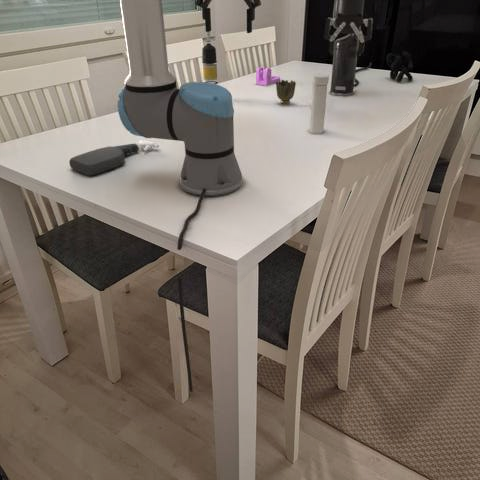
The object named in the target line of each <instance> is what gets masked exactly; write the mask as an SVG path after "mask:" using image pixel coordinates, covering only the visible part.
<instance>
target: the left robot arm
mask: <svg viewBox="0 0 480 480" xmlns="http://www.w3.org/2000/svg"><path fill="white" fill-rule="evenodd" d="M212 1H213V0H196V1H195V6H197V7H200V8H201V12H202V13H201V16H202V17H201V18H202V20H203V21H204V24H205V33H206V32H210V33H211V32H212V15H211V7H209V5H210V4H211V3H212ZM243 1H244V2H245V4H246V5H247V6H248V8H246V34H251V33H252V32H253V21H255V19H256V8H258V7H260V6H261V5H262V2H261V0H243ZM119 3H120V9H121V17H122V24H123V32H124V37H125V45H126V51H127V58H128V67H129V74H128V76H127V77H126V78H125V80H124V86H123V87H122V89H121V90H120V92H119V94H118V100H117V113H118V116H119V119H120V121H121V124H122V126H123V127H124V128H125V130H126V131H128V132H129V133H130V134H131V135H133V136H137V137H141V138H144V139H159V140H166V141H167V140H169V141H179V142H183V143H184V154H185V155H184V158H183V164H182V168H181V171H180V177H179V183H180V184H179V185H180V188H181V189H182V191H184V192H186V193H187V194H190V195H194V196H199V197H198V200H197V204H196V207H195V210H194V211H193V212H192V213H190V214H189V215H188V216H187V218H186V219H185V221H184V223H183V227H182V229H181V231H180V233H179V235H178V240H177V249H176V250H178V251H180V250H182V246H183V239H184V235H185V233H186V231H187V230H188V226H189V222H190V221H191V220H192V219H193V218H194V217H195V216H196V215H197V214H198V213H199V211H200V209H201V206H202V202H203V199H204V197H221V196H224V195H229V194H232V193H234V192H235V191H237V190H239V189H240V188H241V187H242V185H243V174H242V171H241V168H240V165H239V163H238V160H237V157H236V154H235V132H234V131H235V129H234V127H235V126H234V122H235V121H234V114H235V109H234V104H233V96H232V93H231V91H230V90H228V89H227V88H226V87H224V86H222V85H219V84H218V83H217V84H215V83H214V82H207V81H199V82H198V81H189V82H185V83H183V84H181V85H180V87H179V88H177V87H178V86H177V77H176V76H175V75H174V74H173V73H171V71H170V70H169V60H168V52H167V51H168V50H167V40H166V30H165V21H164V18H165V17H164V10H163V9H164V7H163V0H119ZM177 287H178V289H177V290H178V300H179V301H178V303H179V315H180V322H181V332H182V339H183V347H184V355H185V364H186V372H187V381H188V389H189V390H188V391H189V392H190V393H192V392H193V381H192V380H193V378H192V371H191V362H190V354H189V347H188V346H189V344H188V338H187V336H188V335H187V327H186V317H185V308H184V296H183V295H184V293H183V279H182V278H181V277H180V276H177Z"/></svg>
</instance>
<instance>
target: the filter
mask: <svg viewBox="0 0 480 480" xmlns="http://www.w3.org/2000/svg"><path fill="white" fill-rule="evenodd" d="M205 33H206V39H207V40H206V42H207V43H206V45H204V46H202V49H201V50H202V51H201V52H202V54H201V55H202V57H201V58H202V61H201V63H202V71H203V72H202V73H203V74H202V75H203V80H204V81H206V82H207V83H214V84H217V85H218V84H219V82H218V81H216V80H218V64H216V63H218V61H217V48H216V47H215V46H214V45H212V43H210V42H211V40H210V39H211V31H210V32H206V31H205Z"/></svg>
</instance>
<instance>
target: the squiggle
mask: <svg viewBox="0 0 480 480" xmlns="http://www.w3.org/2000/svg"><path fill="white" fill-rule="evenodd" d="M401 57H402V59H401ZM391 59H392V60H391ZM393 60H394V61H393ZM385 61H386V64H387V67H390V68H391V70H390V72H389V78H390V79H391V80H395V79H396V81H397V82H399V83H400V82H402V81H403V79H404V76H406V78H407V80H408V81H412V80H413V79H414V77H413V75H412V74H411V73H410V72H409V71H410V70H412V69H413V68H414V64H413V61H412V57H411V54H410V53H409V52H408V51H403V53H402V54H401V55H396V54H394V53H392V52H390V53H387V55H386V57H385ZM406 62H407V65H408V66H407V67H405V66H404V65H405V64H406ZM400 70H401V71H400Z"/></svg>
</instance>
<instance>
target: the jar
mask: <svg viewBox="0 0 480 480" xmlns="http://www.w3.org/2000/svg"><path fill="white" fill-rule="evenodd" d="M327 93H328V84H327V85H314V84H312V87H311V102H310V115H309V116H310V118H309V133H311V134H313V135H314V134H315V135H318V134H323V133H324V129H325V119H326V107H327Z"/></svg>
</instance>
